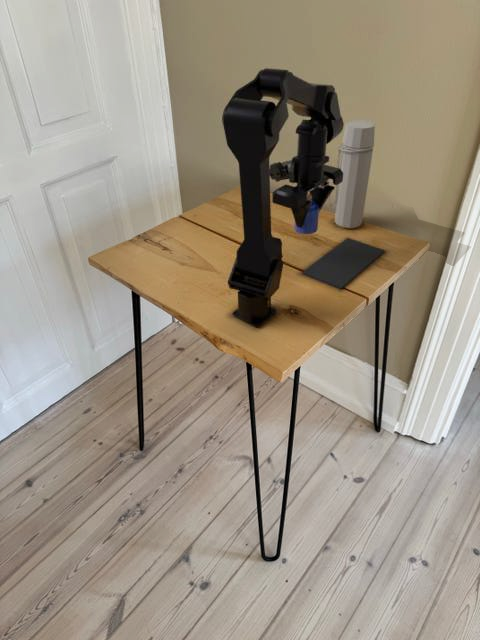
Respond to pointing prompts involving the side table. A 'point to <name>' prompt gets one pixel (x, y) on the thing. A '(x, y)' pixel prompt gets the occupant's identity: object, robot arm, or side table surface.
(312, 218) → the flask
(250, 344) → the side table surface
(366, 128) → the water bottle
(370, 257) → the mat
